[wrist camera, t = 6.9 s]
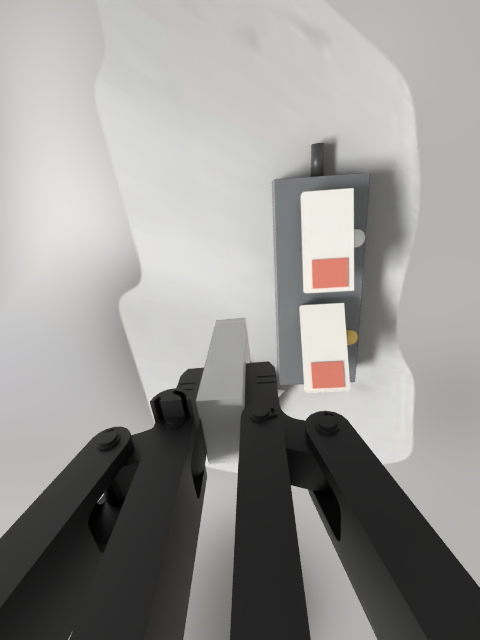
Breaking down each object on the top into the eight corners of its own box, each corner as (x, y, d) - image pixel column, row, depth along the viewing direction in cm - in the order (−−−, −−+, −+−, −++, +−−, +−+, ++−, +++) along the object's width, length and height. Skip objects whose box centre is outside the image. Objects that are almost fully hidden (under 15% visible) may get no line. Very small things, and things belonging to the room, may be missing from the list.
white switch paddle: (299, 306, 35) (301, 305, 33) (340, 304, 34) (344, 302, 33) (304, 390, 34) (307, 392, 32) (346, 388, 34) (350, 391, 32)
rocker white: (300, 195, 30) (303, 191, 28) (348, 192, 29) (354, 187, 28) (303, 292, 31) (306, 293, 29) (348, 289, 31) (354, 290, 29)
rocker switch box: (271, 149, 33) (274, 141, 28) (360, 142, 32) (379, 132, 27) (277, 370, 42) (281, 393, 37) (346, 367, 41) (359, 390, 37)
